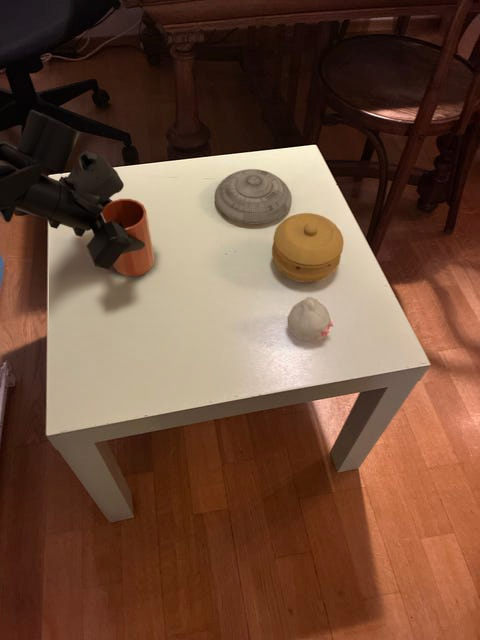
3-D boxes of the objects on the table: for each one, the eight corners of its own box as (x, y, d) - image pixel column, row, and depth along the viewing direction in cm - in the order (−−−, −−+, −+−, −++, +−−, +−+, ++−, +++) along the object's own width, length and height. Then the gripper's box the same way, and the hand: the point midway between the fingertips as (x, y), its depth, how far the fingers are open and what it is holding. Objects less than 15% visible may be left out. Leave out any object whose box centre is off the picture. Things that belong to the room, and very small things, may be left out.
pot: (343, 253, 88) (355, 211, 80) (326, 300, 81) (337, 260, 73) (282, 235, 90) (288, 193, 82) (260, 280, 84) (264, 239, 76)
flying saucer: (252, 168, 101) (253, 145, 97) (306, 203, 95) (310, 181, 91) (198, 200, 95) (197, 178, 91) (253, 241, 89) (254, 218, 85)
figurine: (318, 357, 75) (326, 328, 69) (278, 336, 77) (283, 306, 70) (335, 327, 78) (345, 297, 72) (297, 309, 80) (304, 277, 74)
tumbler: (111, 276, 83) (97, 230, 74) (115, 246, 88) (102, 198, 79) (153, 276, 84) (144, 229, 75) (155, 245, 88) (147, 198, 79)
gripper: (100, 195, 61) (187, 231, 73) (60, 117, 70) (142, 161, 82) (56, 258, 65) (145, 283, 77) (23, 177, 74) (107, 210, 86)
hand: (135, 231), depth 81 cm, fingers closed on tumbler, 7 cm apart
